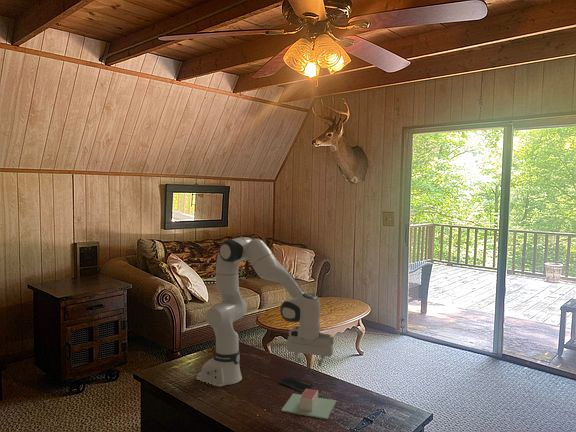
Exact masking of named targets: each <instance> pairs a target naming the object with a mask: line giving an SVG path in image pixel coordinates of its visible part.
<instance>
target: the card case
mask: <svg viewBox="0 0 576 432" xmlns="http://www.w3.org/2000/svg"><path fill="white" fill-rule="evenodd" d="M300 395H301V397H300V409H302V410H308V411H313V409H314V408H315V406H316V404H317V403H318V398H319V390H318V389H312V388H310V389H306V390H305V391H304V392H302V394H300Z"/></svg>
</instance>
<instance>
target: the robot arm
mask: <svg viewBox="0 0 576 432" xmlns="http://www.w3.org/2000/svg"><path fill="white" fill-rule="evenodd" d="M245 260H246V261H249V263H250V265H251V266H252V268H253V270H254V271H255V272H254V273H256V275H258V277H259V278H261V279H263V280H265V281H270V282H275V283H278V284H280V285H281V286H282V287H284V289H285V291H287V293H288V294H289V296H290V297H291V298H289V299H288V300H285V301H283V302H282V303H281V305H280V309H279V311H280V312H279V313H280V316H281V318H282V319H283V320H284V321H286V322H288V323H298V324H299V325H298V326H293V327H292V328H291V329H290V330H289V331H288V337H287V338H286V339H287V340H286V347H285V348H286V350H287V352H290V353H294V357H295V358H296V363H301V362H302V357H300V355H299V354H304V355H311V356H320V359H319V360H318V361H317V366H323V361H324V359H325V358H330V357H331V356H333V354H334V343H335V342H334V336H332V335H331V334H330V333H322V332H321V322H320V319H321V302H320V298H319V297H318V295H316V294H315V293H311V292H306V291H305V290H304V289H303V288H302V286H301V285H300V284H299V283H298V282H297V280H296V279H295V277H294V276H293V275H292V274H291V272H289V270H288V269H286V268H285V266H284V265H282V264H281V263H280V262H279V260H278V259H277V258H276V256H275V255H274V253H273V252H272V250H271V249H270V247H269V246H268V245H267V244H266V243H265V242H264V240H263V239H260V238H255V237H253V236H246V237H244V236H239V237H236V238H232V239H226V240H224V241H222V242H221V243H220V245H219V247H218V254H217V258H216V264H215V289H216V291H217V292H218V293H219V295H220V297H221V302H218V303H216V304H213V305H212V306H211V307H210V308H208V309H207V310H206V313H205V320H206V322H207V324H208V325H209V326H210V327H211V328H212V329H213V331H214V332H213V333H214V335H215V336H214V337H215V349H214V350H213V352H212V353H211V356H212V358H209V359H208V360H207V361H206V362H205V363H204V364H203V365H202V367H201V370H200V372H199V373H198V374H196V377H195V378H196V379H197V380H200V381H199V382H201V381H202V383H204V382H206V383H205V384H208V383H209V384H208V385H211V384H212V386H214V387H219V388H220V387H223V386H224V387H225V386H227V385H228V386H229V385H234V384H237V383H239V382H241V381H242V379H243V376H242V373H241V369H240V368H241V367H240V357H241V356H240V355H241V354H240V353H241V352H240V349H239V347H240V346H239V345H240V343H239V341H240V340H239V332H237V331H235V330H234V326H233V323H234V322H236V321H238V320H241V319H242V318H243V317H244V316H245V315H247V312H248V304H247V302H246V301H245V299H243V297H242V295H241V293H240V292H241V291H240V287H239V286H240V284H239V283H240V282H239V281H240V280H239V279H240V278H239V265H240V262H243V261H245ZM196 379H195V380H196ZM197 380H196V381H197Z"/></svg>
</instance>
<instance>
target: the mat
mask: <svg viewBox="0 0 576 432" xmlns="http://www.w3.org/2000/svg"><path fill="white" fill-rule="evenodd" d="M301 395H302V394H297V393H292V394H291V396H290V397H289V399H288V400H287V401H286V402H285V404H284V405H283V407H282V408H281V410H280V412H282V413H283V412H284V413H288V414H294V415H300V416H306V417H310V418H316V419H323V420H328V419H329V417H330V415H331V413H332V411H333V409H334V407H335V405H336V403H337V400H334V399H329V398H325V397H324V398H323V397H318V403H317V404H316V406H315V408H314V409H313V411H308V410H302V409H300V397H301Z"/></svg>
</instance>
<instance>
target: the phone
mask: <svg viewBox="0 0 576 432" xmlns="http://www.w3.org/2000/svg"><path fill="white" fill-rule="evenodd" d="M279 384H280V386H281V385H282V386H284V387H287V388H289V389H294V390H296V391H299V392H302V393H303V392H304V391H305V390H306V389H312V388H313V384H311V383H308V382H306V381H303V380H300V379H296V378H293V377H291V376H289V377H288V376H287V377H285V378H284V379H282V380H280V381H279Z"/></svg>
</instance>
